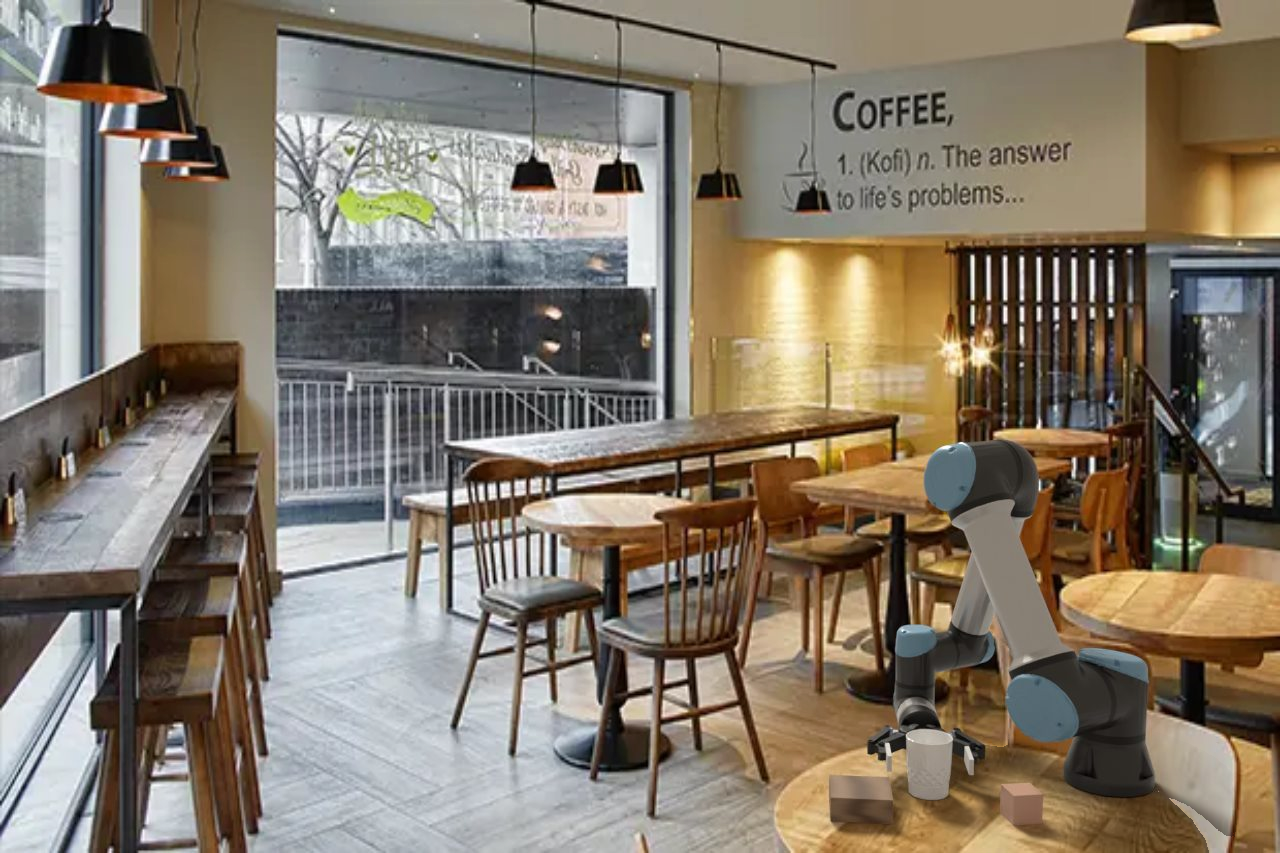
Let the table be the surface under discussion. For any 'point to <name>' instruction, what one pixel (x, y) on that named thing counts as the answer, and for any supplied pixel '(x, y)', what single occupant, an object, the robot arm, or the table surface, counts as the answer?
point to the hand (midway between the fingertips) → (930, 765)
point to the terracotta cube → (1021, 803)
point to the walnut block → (860, 799)
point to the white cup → (929, 763)
